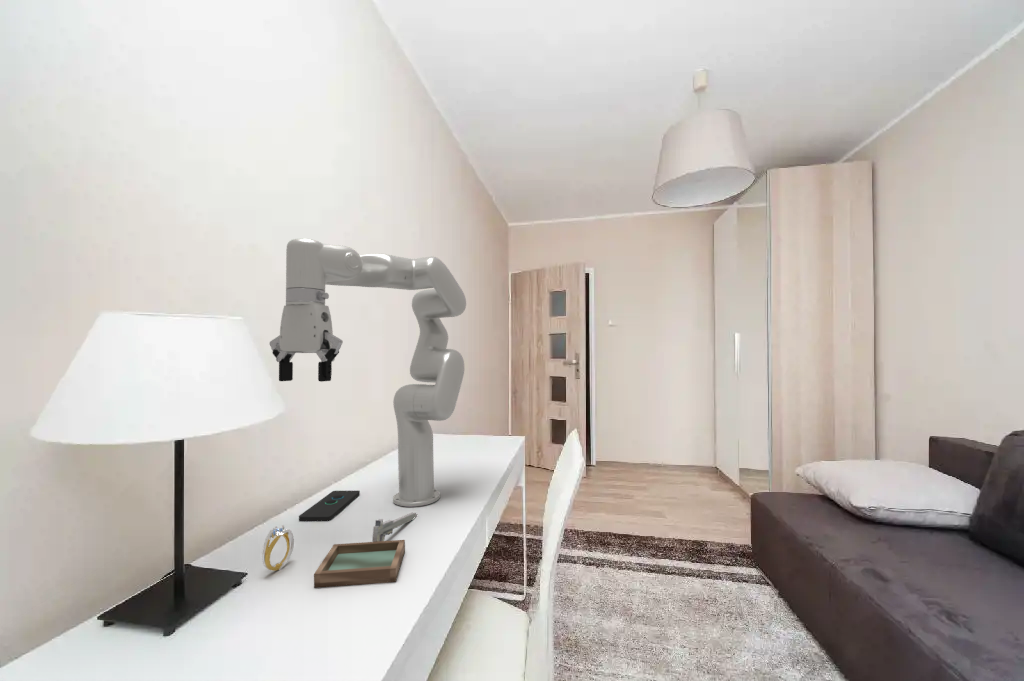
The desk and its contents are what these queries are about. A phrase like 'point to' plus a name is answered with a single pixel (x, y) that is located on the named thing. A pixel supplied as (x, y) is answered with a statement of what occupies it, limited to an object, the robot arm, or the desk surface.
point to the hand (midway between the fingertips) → (305, 381)
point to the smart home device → (329, 506)
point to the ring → (268, 548)
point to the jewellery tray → (360, 564)
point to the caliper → (389, 526)
